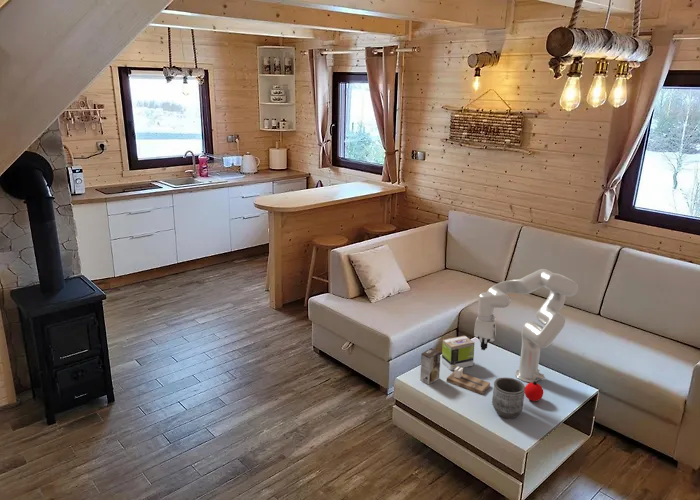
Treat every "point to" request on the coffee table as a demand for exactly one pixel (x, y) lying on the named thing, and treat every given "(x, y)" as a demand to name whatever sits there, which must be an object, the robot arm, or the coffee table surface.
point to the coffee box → (430, 366)
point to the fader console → (469, 383)
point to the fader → (458, 372)
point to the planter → (508, 397)
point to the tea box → (457, 352)
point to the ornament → (533, 391)
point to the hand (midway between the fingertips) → (483, 348)
